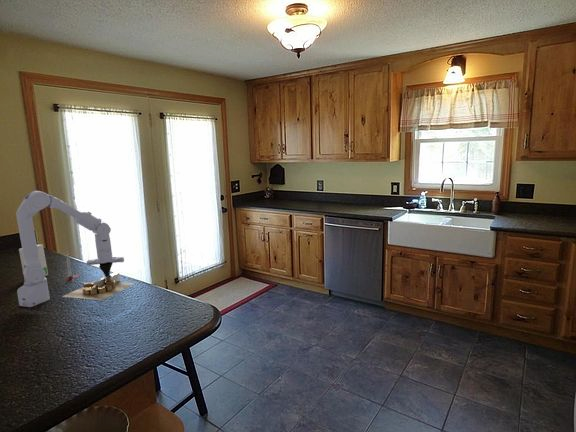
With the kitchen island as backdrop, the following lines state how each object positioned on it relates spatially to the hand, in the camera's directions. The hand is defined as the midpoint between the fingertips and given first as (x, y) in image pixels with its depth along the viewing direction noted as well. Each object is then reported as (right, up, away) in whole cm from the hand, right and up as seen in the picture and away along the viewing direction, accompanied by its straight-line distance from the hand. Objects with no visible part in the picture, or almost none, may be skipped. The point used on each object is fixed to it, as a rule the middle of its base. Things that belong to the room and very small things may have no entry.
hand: (108, 279), depth 156 cm
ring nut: (0, -2, -6) cm, 6 cm away
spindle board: (+1, -4, -8) cm, 9 cm away
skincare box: (-42, -2, +16) cm, 45 cm away
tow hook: (-19, -2, +11) cm, 22 cm away
